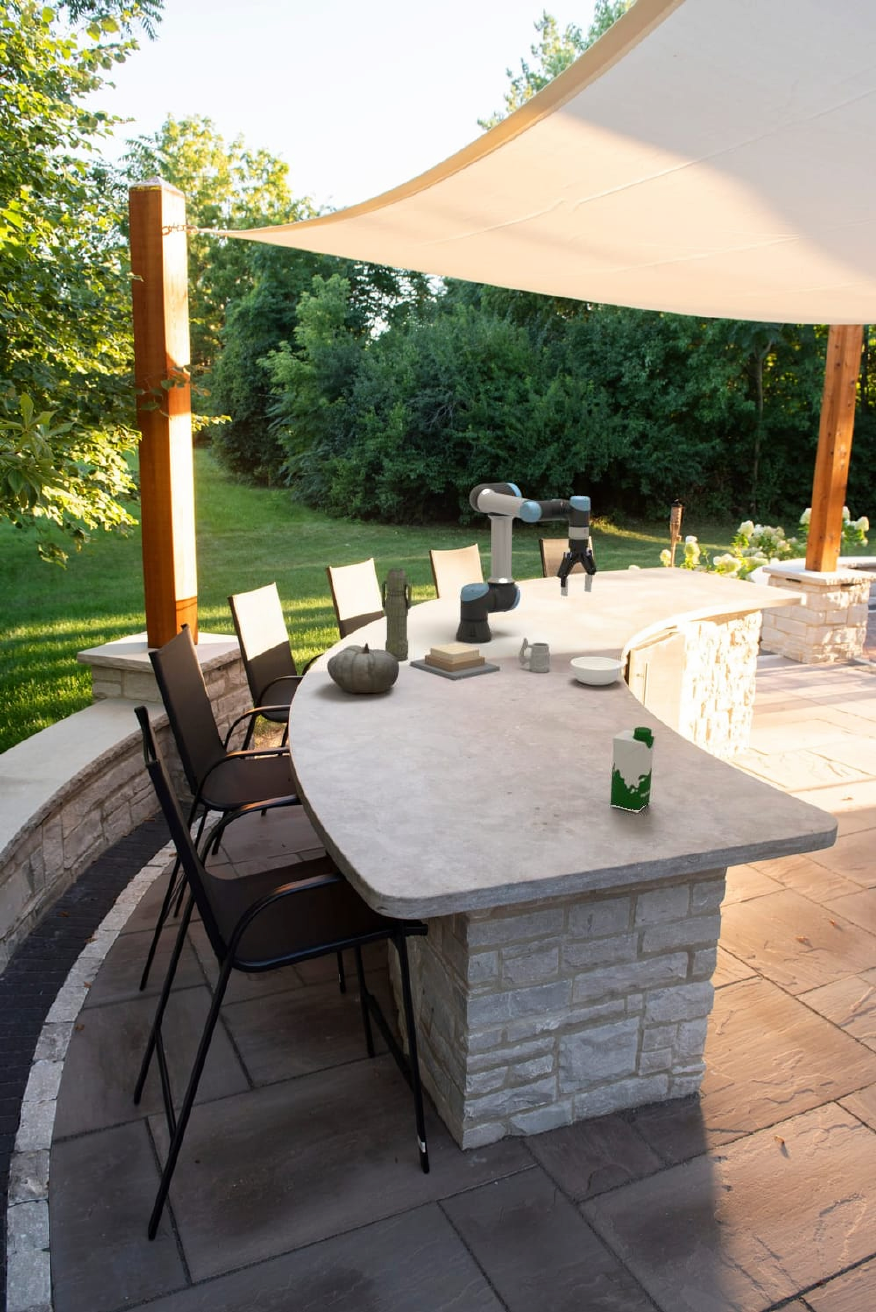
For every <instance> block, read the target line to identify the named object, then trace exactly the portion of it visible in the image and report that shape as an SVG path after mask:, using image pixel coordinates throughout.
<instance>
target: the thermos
mask: <svg viewBox="0 0 876 1312" xmlns="http://www.w3.org/2000/svg"><path fill="white" fill-rule="evenodd" d="M412 590H413V586H412V585H411V583H410V582H408V581H407V574H406V571H405V570H404V569H403V568H391V569H389V570H388V572H387V575H386V580H384V581H383V582H382V584H381V605H382V608H384V611H385V612H384V613H385V614H384V615H385V616H386V640H385V645H384V646H385V648H384V650H385V651H387V652H389V653H391V654H392V655H393V656H394V657H395V658H396V659H397V661H398V663H399V662H405V661H408V660H409V657H408V655H409V641H408V616H409V610H411V608H412V595H413V593H412V592H413V591H412ZM386 591H387V593H386Z"/></svg>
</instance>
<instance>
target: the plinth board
mask: <svg viewBox="0 0 876 1312" xmlns="http://www.w3.org/2000/svg"><path fill="white" fill-rule="evenodd" d="M429 651H430V652H429V654H426V655H424V658H422V659H418V660H417V659H416V660H412V661H410V662H409V666H411V667H414V668H417V669H420V670H422V671H426V672H428V671H429V672H428V673H431V672H432V674H434V673H435V674H434V675H438V676H439V677H444V678H446V679H449V678H451V679H450V680H452V679H453V681H458V680H457V679H459V680H462V679H461V678H463V679H468V678H471V677H477V676H480V675H485V674H490V673H493V672H499V671H501V669H500V668H501V666H499V665H495V664H493V663H489V662H486V657H485V656H482V655H480V649H479V648H476V647H472V646H469V645H465V644H464V643H463V644H462V643H459V642H454V643H448V644H444V645H439V646H438V645H437V646H432V647H430V650H429Z"/></svg>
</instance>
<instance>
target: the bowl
mask: <svg viewBox="0 0 876 1312" xmlns="http://www.w3.org/2000/svg"><path fill="white" fill-rule="evenodd" d="M570 669H571V671H572V673H573V675H574V677H575V679H576V680H577V681H579V682H581V683H583V684H585V685H588V686H589V685H590V686H605V685H606V686H607V685H609V684H613V683H614V682H615V681H617V679H618V678H619V675H620V674H621V672H622V669H623V662H621V661H620V660H618V659H614V658H610V657H603V656H581V657H575V658H573V659H572V660H570Z"/></svg>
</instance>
